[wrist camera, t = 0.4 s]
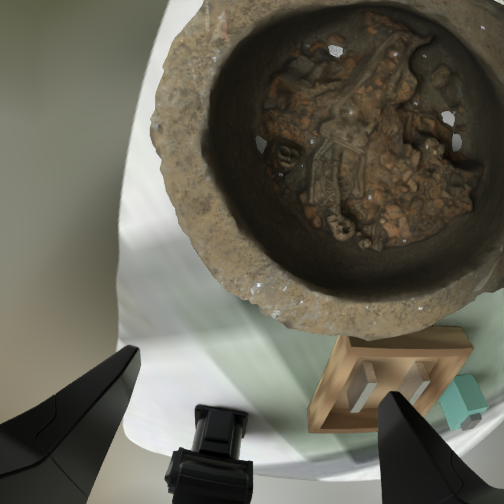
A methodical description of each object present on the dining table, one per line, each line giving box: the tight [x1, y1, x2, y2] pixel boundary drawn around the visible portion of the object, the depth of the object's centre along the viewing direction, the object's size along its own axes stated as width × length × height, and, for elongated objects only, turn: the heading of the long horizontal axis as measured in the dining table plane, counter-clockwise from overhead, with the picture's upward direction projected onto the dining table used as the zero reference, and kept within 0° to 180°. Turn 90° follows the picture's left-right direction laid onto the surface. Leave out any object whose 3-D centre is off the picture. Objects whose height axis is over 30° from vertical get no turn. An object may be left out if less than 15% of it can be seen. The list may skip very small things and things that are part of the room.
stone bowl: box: [150, 0, 504, 341], centre depth 15 cm, size 25×25×9 cm
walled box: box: [307, 326, 474, 433], centre depth 27 cm, size 14×14×4 cm
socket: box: [346, 361, 430, 413], centre depth 26 cm, size 5×7×3 cm
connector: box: [439, 374, 489, 431], centre depth 26 cm, size 4×4×7 cm
